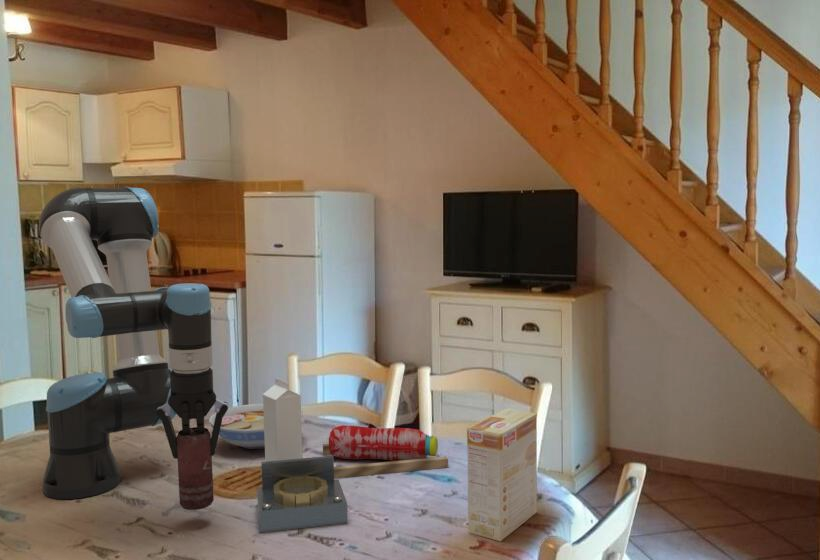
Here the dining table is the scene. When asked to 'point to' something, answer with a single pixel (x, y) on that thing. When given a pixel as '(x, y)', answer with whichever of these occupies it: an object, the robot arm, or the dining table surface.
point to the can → (195, 470)
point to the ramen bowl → (243, 426)
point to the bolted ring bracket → (300, 495)
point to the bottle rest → (387, 466)
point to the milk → (282, 423)
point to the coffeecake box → (502, 473)
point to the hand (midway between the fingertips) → (195, 492)
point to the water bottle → (381, 443)
